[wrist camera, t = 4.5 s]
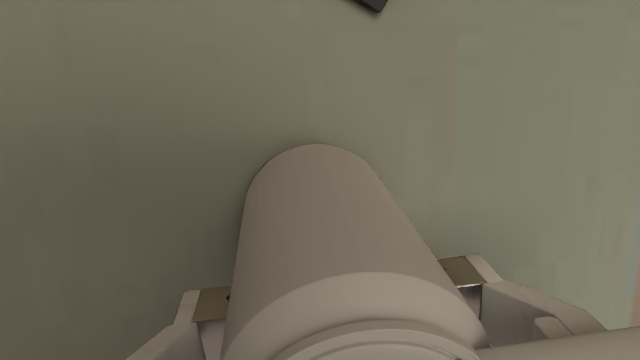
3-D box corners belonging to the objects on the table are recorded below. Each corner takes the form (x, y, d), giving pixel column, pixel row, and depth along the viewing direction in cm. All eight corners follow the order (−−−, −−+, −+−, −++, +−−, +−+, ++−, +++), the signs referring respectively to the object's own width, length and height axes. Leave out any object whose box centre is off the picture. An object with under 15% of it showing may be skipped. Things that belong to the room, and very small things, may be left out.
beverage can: (218, 182, 18) (131, 423, 7) (344, 112, 18) (459, 254, 7) (289, 284, 21) (306, 589, 10) (403, 224, 20) (563, 471, 9)
